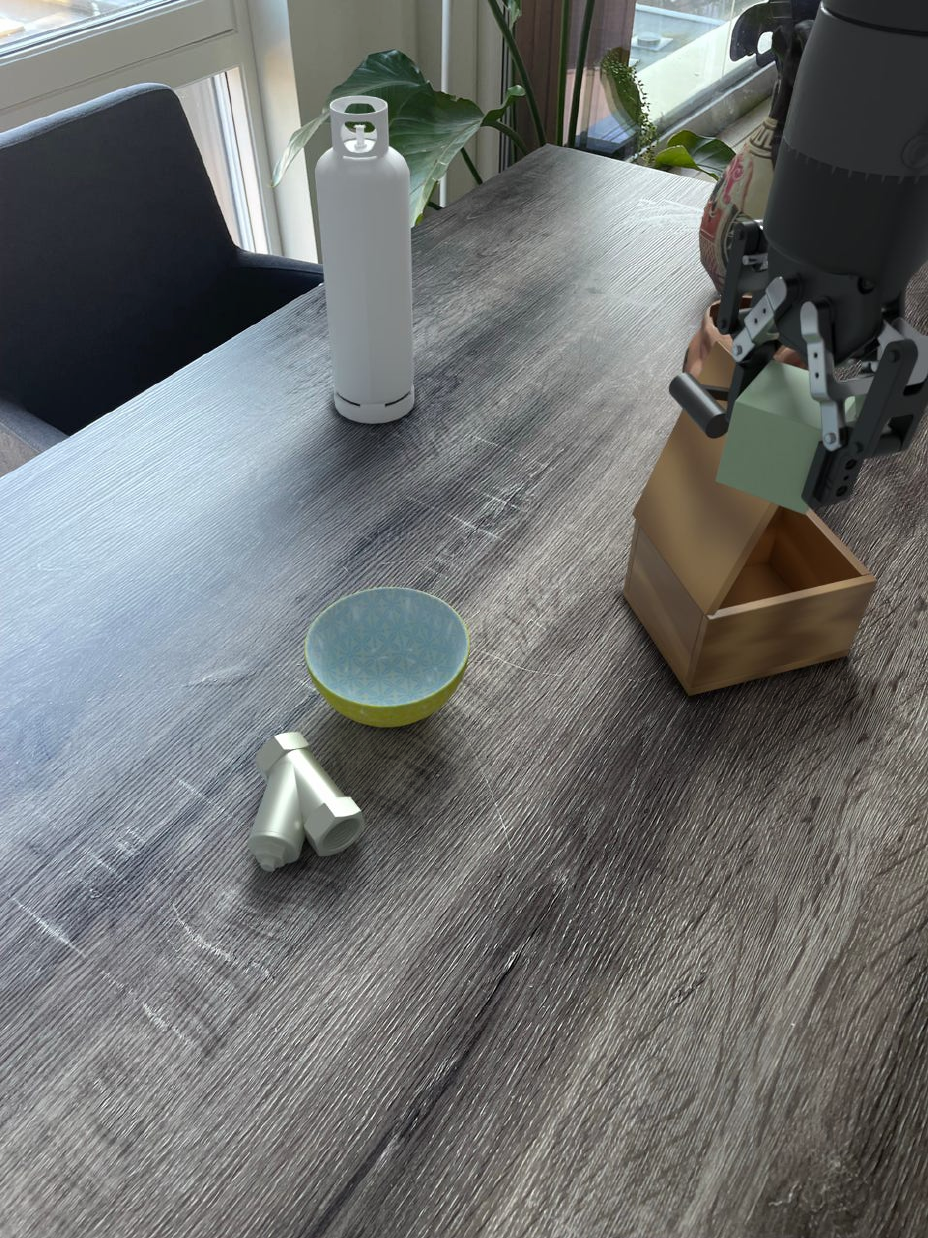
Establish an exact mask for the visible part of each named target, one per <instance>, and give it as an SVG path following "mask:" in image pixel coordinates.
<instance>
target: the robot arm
mask: <svg viewBox="0 0 928 1238" xmlns="http://www.w3.org/2000/svg"><path fill="white" fill-rule="evenodd" d="M814 21H815V22H814V25H813V27H812V30H811V33H810V36H809V38H808V41H807V44H806V46H805V49H804V52H803V55H802V58H801V61H800V64H799V68H798V72H797V76H796V80H795V84H794V88H793V93H792V97H791V101H790V106H789V110H788V114H787V119H786V123H785V127H784V131H783V135H782V140H781V144H780V148H779V153H778V157H777V161H776V166H775V170H774V174H773V179H772V183H771V187H770V191H769V196H768V200H767V204H766V209H765V213H764V217H763V219H757V220H751V221H747V222H740V223H737V224H736V226H735V228H734V232H733V238H732V243H731V248H730V253H729V259H728V264H727V269H726V274H725V280H724V285H723V290H722V295H721V301H720V306H719V311H718V317H717V328H718V331H719V333H720V334H721V335H728V334H729V335H730V337H731V338H732V340H733V342H732V346H731V353H732V356H733V358H734V360H735V361H736V364H735V368H734V373H733V377H732V381H731V382H732V383H731V385H730V390H729V394H728V398H727V410H726V414H725V419H726V420H727V421H728V422H729V423H730V420H731V416H732V411H733V407H734V403H735V401H736V400H737V399H738V397H739V396H740V395H741V394H742V393H743V392H744V391H745V389H746V388H747V387H748V386H749V385H750V384H751V383H752V381H753V380H754V379H755V378H756V377H757V376H758V374H759V373H760V372H761V371H762V370H763V369H764V368H765V366H766V365H767V364H768V363H769V362H770V361H771V360H775V361H777V360H776V359H774V358H773V357H774V356H775V355H779V354H780V353H781V352H782V351H783V350H784V349H785V348H786V347H787V348H789V349H792V350H794V351H796V352H797V353H798V355H799V356H800V358H801V359H802V361H803V362H804V364H806V365H807V366H808V368H809V383H810V394H811V397H812V398H813V399H814V400H815V401H817V402H819V404H820V410H821V425H822V439H823V441H819V442H818V445H817V448H816V451H815V455H814V458H813V461H812V464H811V467H810V470H809V473H808V476H807V479H806V482H805V486H804V489H803V492H802V495H801V498H802V500H803V501H804V502H805V503H806V504H807V505H808V506H809V507H810V508H811V509H812V510H814V509H815V510H816V509H819V508H822V507H828V506H832V505H837V504H839V503H841V502H843V501H847V500H848V499H849V498H850V497H851V495H852V494H853V492H854V488H855V485H856V483H857V480H858V477H859V475H860V472H861V470H862V467H863V464H864V461H865V460H870V459H874V458H880V457H884V456H888V455H893V454H898V453H903V452H907V450H908V449H909V447H910V445H911V443H912V440H913V438H914V436H915V433H916V431H917V429H918V428H919V425H920V422H921V420H922V418H923V416H924V413H925V411H926V409H927V407H928V334H927V335H924V334H923V333H921V332H920V331H918V329H916V328H915V327H914V326H913V325H911V324H910V323H909V322H907V320H906V314H907V313H906V298H907V291H908V286H909V285H910V284H909V283H910V282H911V280H912V279H913V278H914V277H915V275H916V274H918V273H917V272H919V271H920V269H922V267H924V265H925V264H927V263H928V0H820V2H819V5H818V9H817V13H816V15H815V18H814ZM748 292H753V295H752V300H751V304H750V308H747V309H741V310H740V305H741V300H742V297H743V295H744V294H746V293H748ZM859 362H860V371H859V373H858V374H857V375H856V376H855V377H851V378H847V379H846V378H845V379H841V380H838V379H837V377H836V374H835V370H838V369H843V368H848V367H852V366H855V365H857V364H858V363H859ZM852 396H854V397H855V407H856V414H855V419H854V420H853V421H849V422H846V416H845V401H846V399H847V398H849V397H852ZM888 421H889V422H888ZM887 422H888V425H886V424H887Z"/></svg>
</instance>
